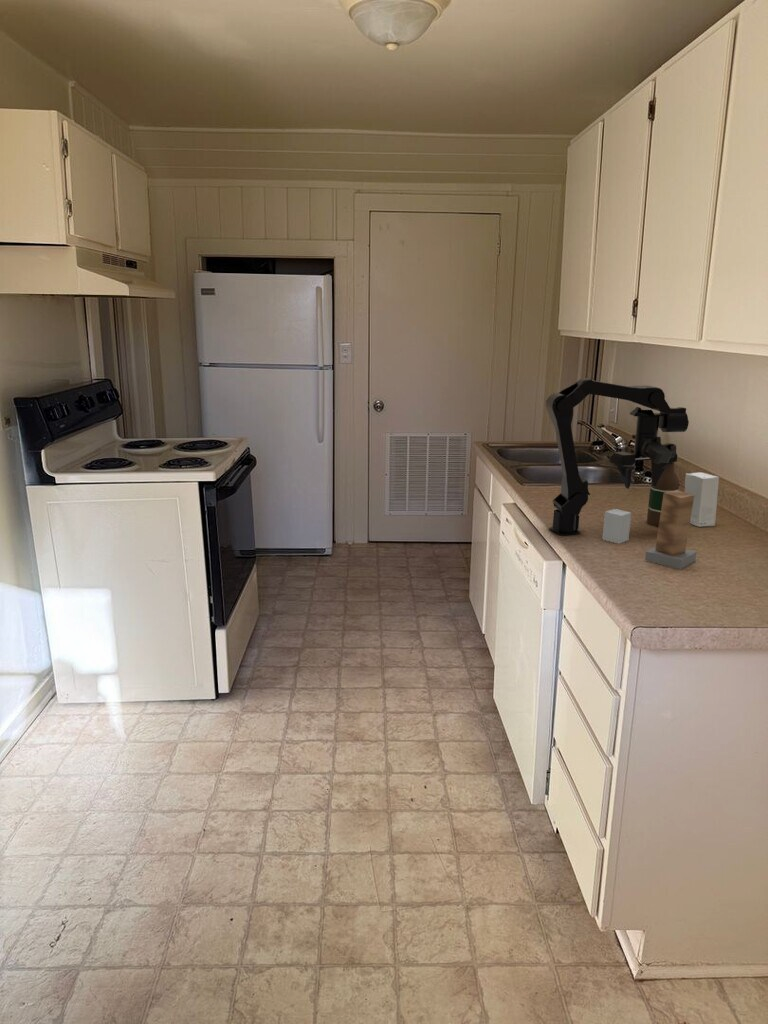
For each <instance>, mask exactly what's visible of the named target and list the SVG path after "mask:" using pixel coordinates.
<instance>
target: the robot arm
mask: <svg viewBox="0 0 768 1024" xmlns="http://www.w3.org/2000/svg"><path fill="white" fill-rule="evenodd" d="M589 395H595V396H601V397H606V398H614V399H616V400H617V399H618V400H625V401H628V402H631V403H634V404H637V405H639V406H642V407H645V408H648V409H642V408H641V407H639V406H636V407H635V408H634V409H633V410H631V411H630V412H629V415H630V416H633V417H637V419H636V427H635V428H636V429H635V434H632V436H631V438H632V439H634V445H633V448H631V449H630V453H629V452H626V451H613V452H612V453H611V455H610V460H609V462H610V463H613V465H614V466H616V467H617V470H618V472H619V474H620V477H621V479H622V481H623V484H624V487H625V488H626V489H630V487H631V481H632V474H633V473H632V472H633V470H634V469H635V468H636V466H635V465H634V464H635V463H636V462H639V461H650V462H651V463H650V466H651V481H652V485H653V486H656V485H657V483H658V481H659V479H660V477H661V475H662V473H663V471H664V470H665V468H667V467H668V466H669V465H672V464H673V463H672V462H674V463H676V462H677V461H678V453H677V445H676V444H675V445H676V446H675V445H674V443H671V444H668V445H667V446H666V445H663V444H662V438H661V436H658V434H659V429H660V430H661V432H662V433H684V432H687V429H689V424H690V423H689V421H690V420H689V418H688V417H689V416H688V414H687V408H686V407H681V406H678V407H671V406H670V405H669V404H668V401H666V399H665V398H666V395H665V392H664V391H663V389H662V388H660V387H657V386H652V385H622V384H616V383H611V382H604V381H598V380H593V379H590V378H587V377H582V378H579V379H578V380H577V381H576V382H574V383H572V384H571V385H569V386H567V387H565V388H563V389H561V390H560V391H559V392H554V393H552V394H550V395H549V396H548V397H547V399H546V400H545V409H546V411H547V414H548V417H549V418H550V421H551V422H552V425H553V426H554V430H555V435H556V443H557V448H558V453H559V459H560V460H559V461H560V466H561V472H562V479H561V483H560V493H559V494H558V495H556V497H555V498H553V499H552V505H553V507H554V508H556V509H554V510H553V516H552V517H553V518H552V527H549V531H551V530H552V532H554V533H555V532H556V534H557V533H558V535H559V534H560V536H567V535H577V534H581V530H579V528H580V527H579V526H580V514H581V511H582V508H583V507H584V506H586V504H587V503H588V500H589V496H590V495H591V493H590V492H589V483H588V480H587V479H585V478H583V477H582V476H580V474H579V473H580V472H579V467H578V460H577V454H576V448H575V442H574V436H573V430H572V423H573V418H574V408H575V407H576V406H577V405H580V403H581V402H582V401H583V400H585V398H586V397H588V396H589ZM654 411H657V412H654Z"/></svg>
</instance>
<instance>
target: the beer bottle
mask: <svg viewBox="0 0 768 1024" xmlns="http://www.w3.org/2000/svg"><path fill="white" fill-rule="evenodd" d="M668 444H672V443H669V442H668V443H663V444H662V445H666V446H667V445H668ZM673 444H674V443H673ZM674 445H675V446H676V447H677V445H676V444H674ZM672 463H673V464H672V465H669V466H668V467H667V468H665V470H664V471H663V473H662V475H661V477H660V479H659V481H658V483H657V485H656V486H653V485H652V480H651V483H650V487H649V497H648V506H647V513H646V515H647V516H646V522H647V523H648V524H649V525H650V526H654V527H658V528H659V521H660V514H661V508H662V501H663V494H664V493H665V492H670V491H675V490H678V491H680V482H679V478H678V475H677V474H676V472H675V462H672Z"/></svg>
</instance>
